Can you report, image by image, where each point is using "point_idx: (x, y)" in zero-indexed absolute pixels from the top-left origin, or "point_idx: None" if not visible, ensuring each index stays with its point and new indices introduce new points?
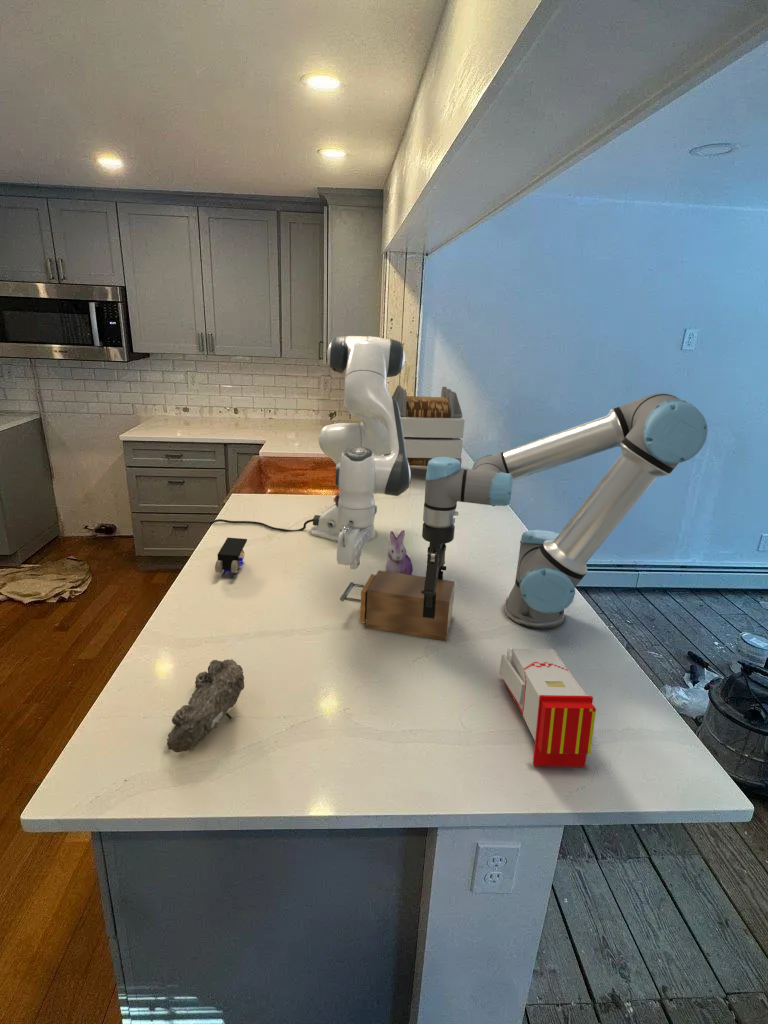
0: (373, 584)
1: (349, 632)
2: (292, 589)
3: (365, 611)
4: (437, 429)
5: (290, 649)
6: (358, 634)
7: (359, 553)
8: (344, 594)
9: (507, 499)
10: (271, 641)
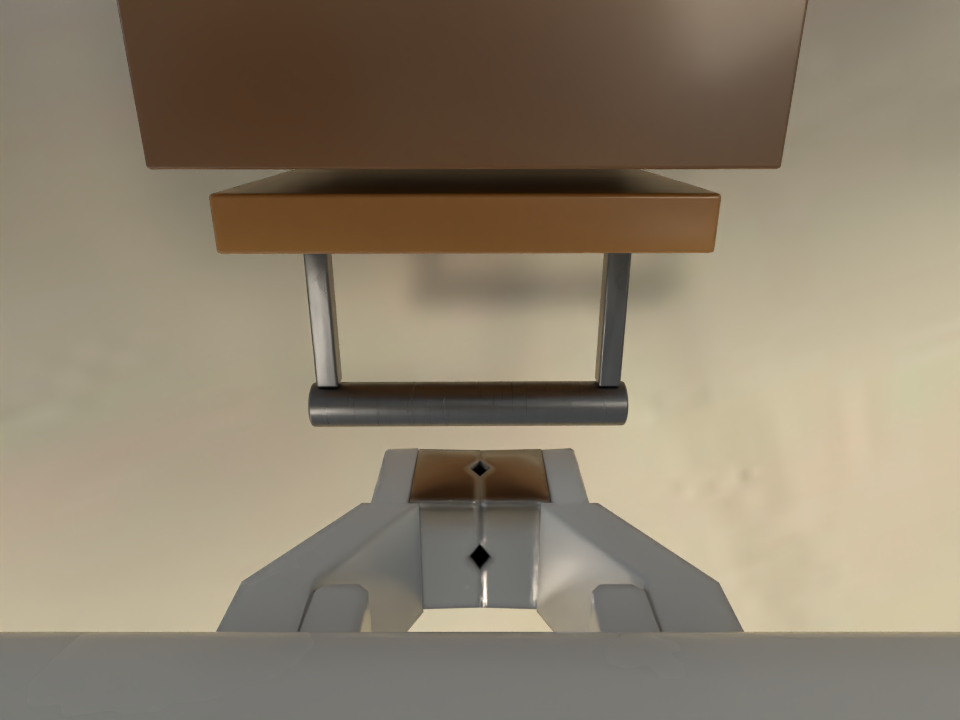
0: (606, 125)
1: (717, 243)
2: None
3: (629, 171)
4: None
5: (942, 502)
6: (732, 175)
7: (765, 636)
8: (576, 409)
9: None
10: (871, 606)
